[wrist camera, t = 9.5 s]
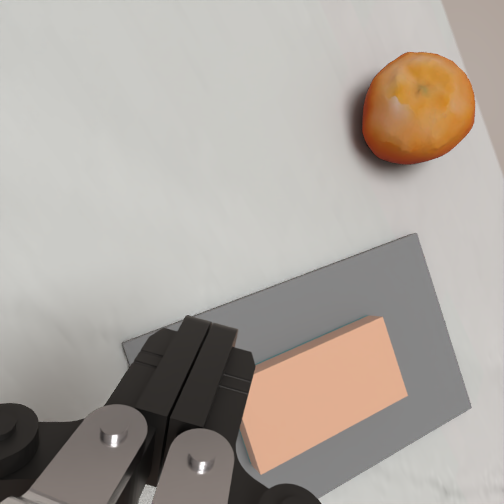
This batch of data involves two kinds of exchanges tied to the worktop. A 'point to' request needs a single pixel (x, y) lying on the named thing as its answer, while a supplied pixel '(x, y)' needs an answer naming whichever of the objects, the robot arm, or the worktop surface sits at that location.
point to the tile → (319, 391)
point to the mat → (334, 316)
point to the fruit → (417, 109)
